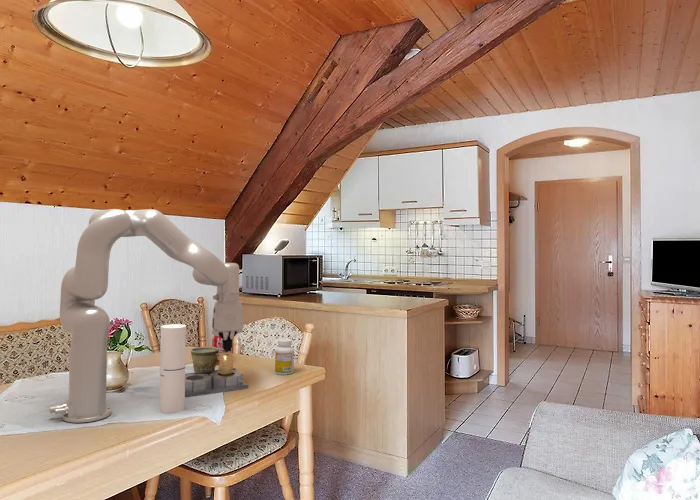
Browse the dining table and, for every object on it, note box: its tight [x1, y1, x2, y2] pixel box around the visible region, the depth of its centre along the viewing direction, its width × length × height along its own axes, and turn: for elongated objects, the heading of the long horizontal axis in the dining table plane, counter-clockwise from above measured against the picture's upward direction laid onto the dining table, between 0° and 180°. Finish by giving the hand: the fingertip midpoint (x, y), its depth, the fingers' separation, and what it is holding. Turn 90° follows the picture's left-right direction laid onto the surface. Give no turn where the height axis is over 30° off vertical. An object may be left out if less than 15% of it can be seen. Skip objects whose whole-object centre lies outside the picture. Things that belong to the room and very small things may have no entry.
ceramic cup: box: [190, 346, 222, 373], centre depth 190 cm, size 13×10×10 cm
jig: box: [185, 367, 249, 398], centre depth 175 cm, size 22×13×4 cm, turn 124°
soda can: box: [211, 332, 230, 365], centre depth 211 cm, size 7×7×12 cm
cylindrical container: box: [158, 323, 187, 414], centre depth 152 cm, size 7×7×25 cm
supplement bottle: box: [274, 338, 295, 376], centre depth 197 cm, size 7×7×13 cm
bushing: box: [218, 351, 234, 376], centre depth 178 cm, size 5×5×10 cm
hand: (227, 350), depth 178 cm, fingers closed
